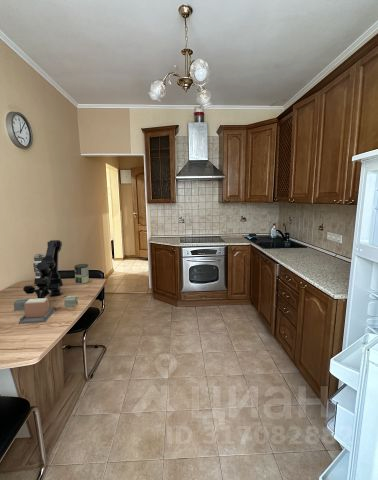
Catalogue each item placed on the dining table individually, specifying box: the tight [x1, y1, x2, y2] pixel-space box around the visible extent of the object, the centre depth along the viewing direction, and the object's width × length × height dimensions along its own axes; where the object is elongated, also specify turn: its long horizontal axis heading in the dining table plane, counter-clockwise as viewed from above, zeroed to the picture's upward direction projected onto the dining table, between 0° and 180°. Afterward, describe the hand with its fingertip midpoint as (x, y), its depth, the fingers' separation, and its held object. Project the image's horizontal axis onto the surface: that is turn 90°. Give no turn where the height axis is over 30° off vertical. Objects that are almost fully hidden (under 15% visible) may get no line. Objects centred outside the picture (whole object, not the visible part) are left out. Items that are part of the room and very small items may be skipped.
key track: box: [18, 306, 56, 325], centre depth 141 cm, size 16×13×2 cm
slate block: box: [13, 297, 30, 312], centre depth 151 cm, size 6×6×5 cm
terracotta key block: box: [24, 297, 50, 318], centre depth 139 cm, size 6×10×9 cm, turn 101°
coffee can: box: [73, 263, 90, 285], centre depth 200 cm, size 10×10×14 cm
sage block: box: [63, 295, 79, 308], centre depth 156 cm, size 6×6×5 cm
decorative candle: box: [32, 253, 46, 287], centre depth 189 cm, size 9×9×25 cm
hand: (39, 302), depth 142 cm, fingers closed, pressing on terracotta key block
